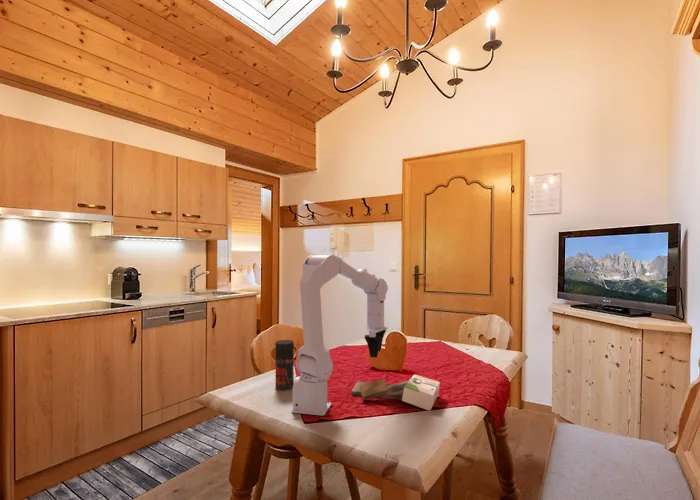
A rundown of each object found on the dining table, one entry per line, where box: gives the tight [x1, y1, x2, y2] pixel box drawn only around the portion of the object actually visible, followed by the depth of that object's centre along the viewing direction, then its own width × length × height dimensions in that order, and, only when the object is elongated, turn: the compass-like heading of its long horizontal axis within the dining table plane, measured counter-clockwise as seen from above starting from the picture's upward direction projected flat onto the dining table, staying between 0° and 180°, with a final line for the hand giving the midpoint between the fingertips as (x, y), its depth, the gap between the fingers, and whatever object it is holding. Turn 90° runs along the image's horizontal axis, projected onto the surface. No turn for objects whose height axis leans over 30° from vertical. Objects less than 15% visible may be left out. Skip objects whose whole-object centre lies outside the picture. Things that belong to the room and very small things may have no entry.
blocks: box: [360, 378, 408, 401], centre depth 113 cm, size 14×5×4 cm
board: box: [350, 381, 404, 400], centre depth 119 cm, size 18×9×1 cm, turn 77°
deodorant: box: [275, 339, 295, 392], centre depth 123 cm, size 6×6×15 cm
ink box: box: [401, 374, 441, 412], centre depth 112 cm, size 9×5×12 cm
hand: (375, 353), depth 125 cm, fingers open, 7 cm apart
